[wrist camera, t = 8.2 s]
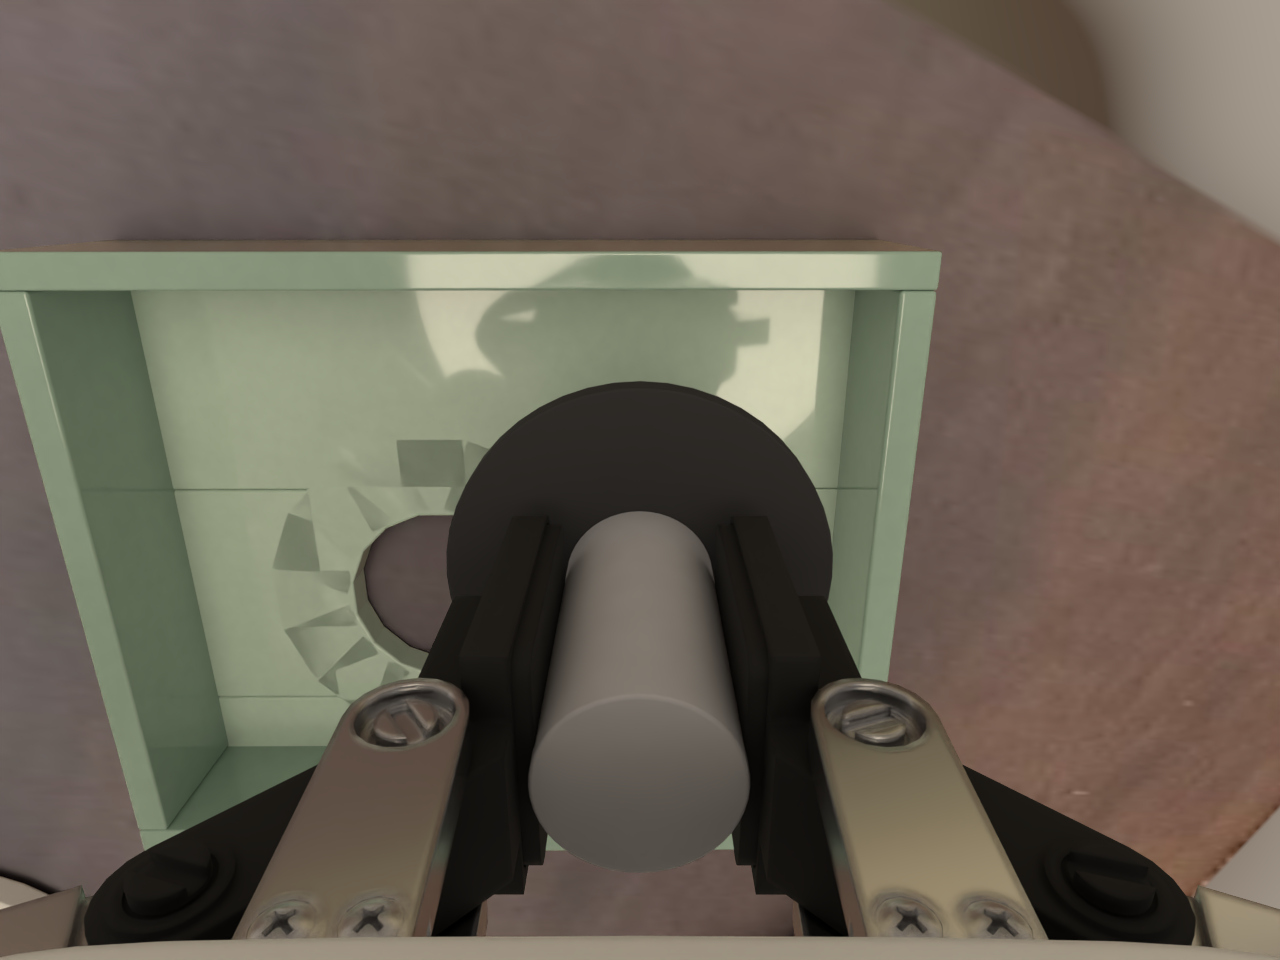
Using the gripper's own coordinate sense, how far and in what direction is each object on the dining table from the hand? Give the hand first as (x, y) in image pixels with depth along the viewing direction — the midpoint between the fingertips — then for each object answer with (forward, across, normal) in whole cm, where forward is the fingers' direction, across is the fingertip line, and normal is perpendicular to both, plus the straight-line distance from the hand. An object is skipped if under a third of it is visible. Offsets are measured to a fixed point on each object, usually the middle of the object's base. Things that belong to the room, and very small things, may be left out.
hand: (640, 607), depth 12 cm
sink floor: (+11, -4, -3) cm, 12 cm away
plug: (+2, 0, 0) cm, 2 cm away
